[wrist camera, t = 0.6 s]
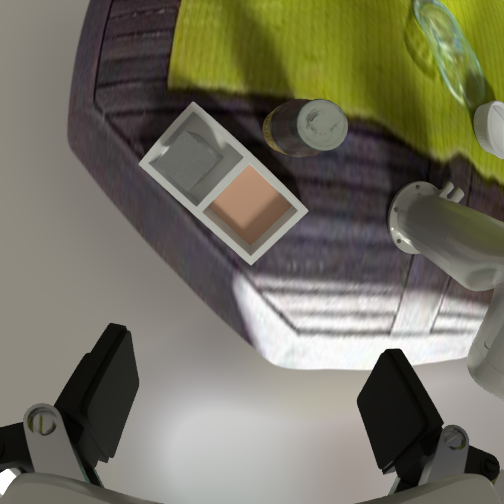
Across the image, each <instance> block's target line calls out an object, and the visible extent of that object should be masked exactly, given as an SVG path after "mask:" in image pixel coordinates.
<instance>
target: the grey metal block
mask: <svg viewBox="0 0 504 504" xmlns="http://www.w3.org/2000/svg"><path fill="white" fill-rule="evenodd" d="M222 158H223V156H222V155H221V154H220V153H219V152H217V151H216V150H215V149H214V148H213V147H212V146H211V145H210V144H209V143H208V142H206V141H205V140H204V139H203V138H202V137H201V136H200V135H199V134H197V133H193V132H190V131H186V130H185V131H184V132H183V133H182V134H181V135H180V136H179V137H178V139H177V140H176V141H175V142H174V143H173V144H172V145H171V147H170V148H169V149H168V150H167V151H166V152H165V154H164V155H163V156H162V157H161V158H160V160H159V161H158V162H157V163H156V164H157V165H158V166H159V167H160V168H161V169H162V170H164V171H165V172H166V173H167V174H168V175H169V176H170V177H171V178H172V179H173V180H175V181H176V182H177V183H178V184H179V185H180V186H181V187H182V188H183V189H184V190H186V191H187V192H188V191H190V190H191V189H192V188H193V187H195V186H196V185H197V184H199V183H200V182H201V181H202V180H203V178H204V177H205V176H206V175H207V174H208V173H209V172H210V171H211V170H212V169H213V168H214V167H215V166H216V165H217V164H218V162H219V161H220V160H221V159H222Z"/></svg>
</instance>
